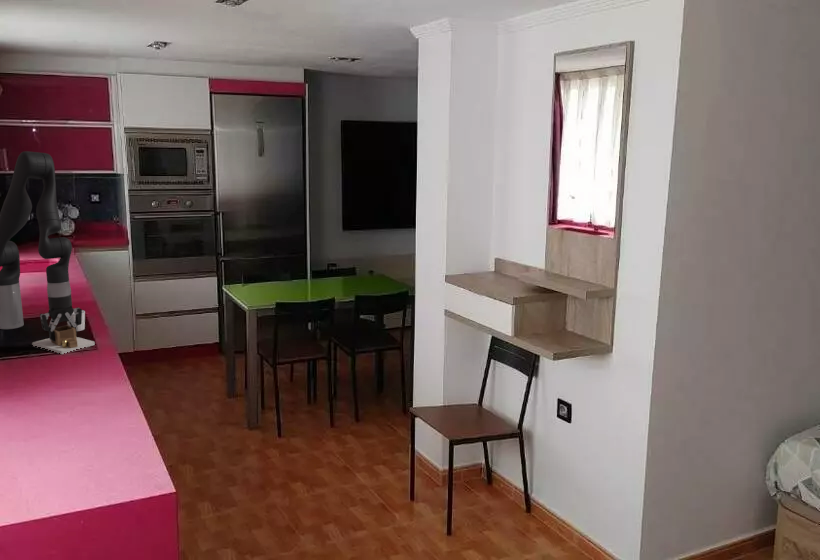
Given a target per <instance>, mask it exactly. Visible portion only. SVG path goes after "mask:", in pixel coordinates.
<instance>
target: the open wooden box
mask: <svg viewBox="0 0 820 560" xmlns="http://www.w3.org/2000/svg"><path fill="white" fill-rule="evenodd" d="M62 330H64V331H62ZM54 332H55V340H56V341H54V342H53V341H52V340H51V342H52V343H54V344H56V345H58V346H61V345H62V340H67V346H68V347H70V348H74V347H78V345H77V335H76V329H75V328H73V327H71V326H69V325H68V324H66V325H62V326H56V327H55V329H54Z"/></svg>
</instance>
